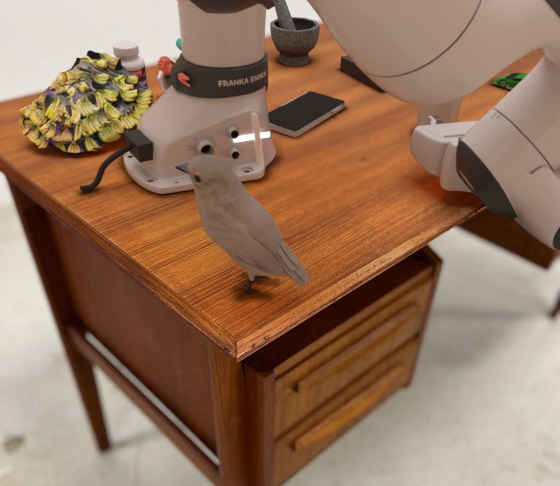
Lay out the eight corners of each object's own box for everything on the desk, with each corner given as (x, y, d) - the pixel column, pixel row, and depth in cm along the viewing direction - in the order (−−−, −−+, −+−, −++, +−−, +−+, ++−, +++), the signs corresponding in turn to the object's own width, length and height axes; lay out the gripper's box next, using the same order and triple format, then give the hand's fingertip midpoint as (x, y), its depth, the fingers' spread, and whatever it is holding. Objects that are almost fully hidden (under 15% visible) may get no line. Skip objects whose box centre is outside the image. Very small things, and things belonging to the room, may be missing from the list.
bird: (203, 260, 66) (182, 139, 56) (315, 280, 63) (316, 156, 52) (185, 287, 63) (160, 164, 52) (303, 310, 59) (301, 183, 49)
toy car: (489, 85, 108) (492, 72, 107) (499, 78, 111) (502, 66, 109) (542, 97, 104) (546, 84, 102) (550, 90, 106) (554, 77, 105)
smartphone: (256, 118, 93) (308, 90, 102) (256, 125, 94) (308, 96, 102) (296, 131, 89) (347, 101, 98) (296, 139, 90) (346, 108, 99)
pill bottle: (137, 113, 96) (128, 52, 89) (111, 107, 97) (100, 46, 91) (156, 101, 99) (148, 42, 93) (131, 96, 101) (121, 37, 94)
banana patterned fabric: (59, 183, 84) (36, 153, 78) (15, 124, 91) (-9, 92, 85) (170, 112, 87) (156, 78, 82) (120, 60, 94) (104, 25, 89)
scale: (380, 91, 105) (383, 72, 103) (339, 69, 113) (341, 51, 111) (441, 77, 111) (445, 59, 108) (398, 57, 119) (401, 40, 117)
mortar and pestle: (327, 61, 116) (331, -5, 108) (294, 72, 112) (297, 4, 103) (288, 48, 122) (289, -16, 114) (256, 57, 117) (255, -8, 109)
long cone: (199, 64, 116) (200, 92, 100) (169, 75, 116) (166, 104, 101) (188, 35, 112) (188, 59, 97) (158, 46, 112) (153, 71, 97)
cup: (432, 146, 89) (446, 80, 82) (406, 130, 93) (417, 67, 86) (461, 137, 91) (477, 73, 84) (435, 123, 95) (448, 60, 88)
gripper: (588, 131, 73) (530, 91, 83) (442, 145, 70) (399, 101, 79) (571, 176, 78) (517, 132, 87) (432, 191, 74) (392, 144, 84)
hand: (460, 118), depth 83 cm, fingers open, 8 cm apart
